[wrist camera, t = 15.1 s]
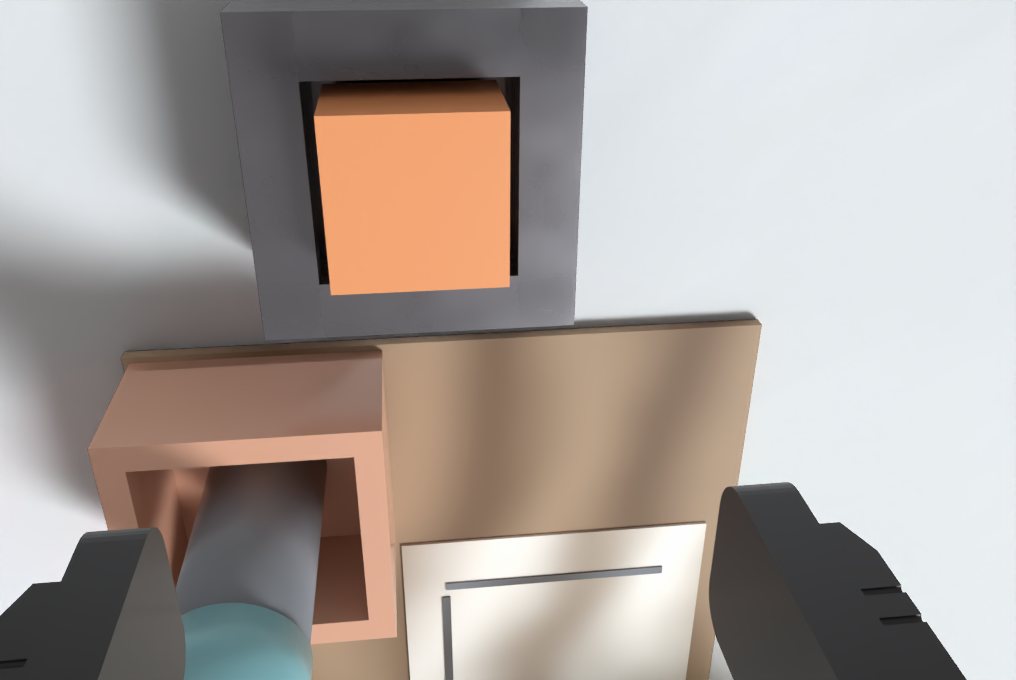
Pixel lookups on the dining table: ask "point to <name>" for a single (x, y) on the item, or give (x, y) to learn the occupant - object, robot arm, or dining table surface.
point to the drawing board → (549, 498)
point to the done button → (415, 185)
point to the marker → (253, 572)
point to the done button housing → (406, 58)
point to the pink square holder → (262, 439)
